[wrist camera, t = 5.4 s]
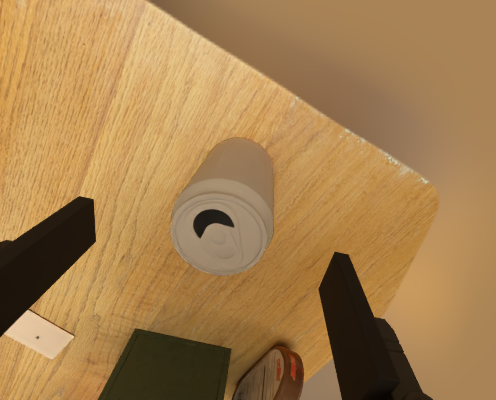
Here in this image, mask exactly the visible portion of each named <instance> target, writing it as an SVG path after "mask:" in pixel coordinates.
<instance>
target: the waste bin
mask: <svg viewBox="0 0 496 400" xmlns="http://www.w3.org/2000/svg"><path fill="white" fill-rule="evenodd" d="M230 353H231V349H228V348H224V347H219V346H214V345H210V344H205V343H200V342H196V341H191V340H186V339H182V338H177V337H172V336H168V335H163V334H158V333H154V332H149V331H144V330H140V329H135V330H134V332H133V334H132V336H131V338H130V339H129V341H128V343H127V345H126V347H125V349H124V351H123V353H122V355H121V356H120V358H119V360H118V362H117V364H116V366H115V368H114V370H113V372H112V373H111V375H110V377H109V379H108V381H107V383H106V385H105V387H104V389H103V391H102V392H101V394H100V396H99V398H98V400H224V393H225V387H226V380H227V373H228V367H229V360H230Z"/></svg>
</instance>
